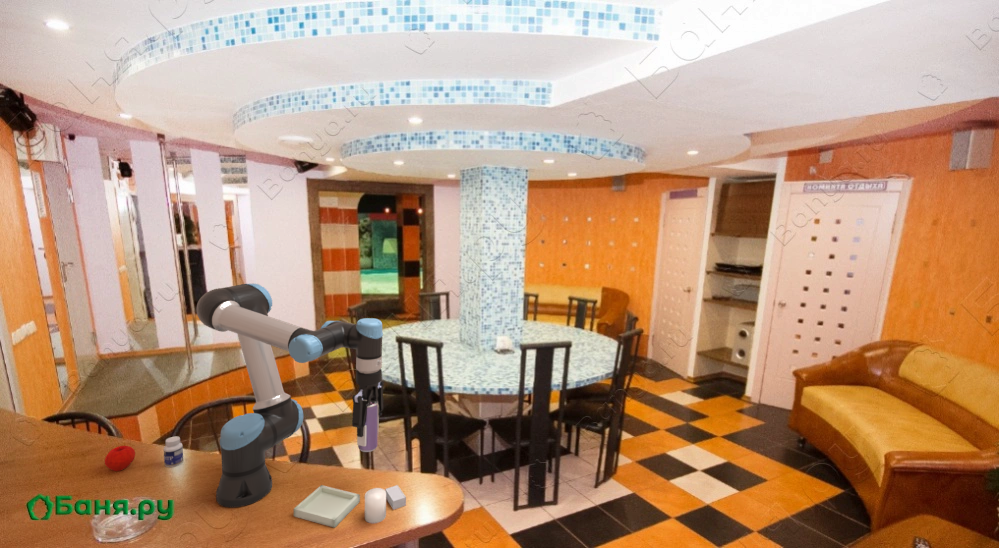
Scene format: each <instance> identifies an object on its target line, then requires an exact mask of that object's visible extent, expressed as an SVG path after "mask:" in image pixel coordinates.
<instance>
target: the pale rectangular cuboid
mask: <svg viewBox="0 0 999 548" xmlns="http://www.w3.org/2000/svg"><path fill="white" fill-rule="evenodd" d="M384 490H385V491H386V502H388V504H389V505H390V506H391V508H392V510H393V511H394V510H397V509H399V508H402V507H405V506H407V497H406V495H405V494H404V492H403V490H402V489H401V488H400V487H399V484H396V485H394V486H390V487H388V488H385V489H384Z"/></svg>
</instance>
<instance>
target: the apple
mask: <svg viewBox="0 0 999 548" xmlns="http://www.w3.org/2000/svg"><path fill="white" fill-rule="evenodd" d="M135 457H136V451H135V449H134V448H133V447H132V446H129V445H119V446H116V447H114V448H112V449H110V450H109V452H108V453H107V454H106V456H105V458H104V465H105V467H106V468H108V469H109V470H111V471H114V472H120V471H122V470H125V469H127V468H128V467H129V466H130V465H131V464H132V462H133V461H134V460H135Z"/></svg>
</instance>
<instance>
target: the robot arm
mask: <svg viewBox="0 0 999 548" xmlns="http://www.w3.org/2000/svg"><path fill="white" fill-rule="evenodd" d="M272 307H273V299H272V296H271V293H270V292H269V291H268V290H267V288H265V287H264V286H262V285H261V284H259V283H252V282H251V283H242V284H237V285H236V284H235V285H231V286H226V287H218V288H214V289H211V290H209V291H207V292H205V293H204V294H203V295H202V296H201V297H200V298H199V300H198V301H197V304H196V314H197V315H196V316H197V317H198V320H199V321H200V322H201V323H202V324H203V325H205V326H206V327H208V328H210V329H212V330H215V331H218V332H221V333H222V332H228V331H229V332H231V333H235V334H236V335H237V338H238V341H239V345H240V348H241V352H242V356H243V359H244V364H245V367H246V370H247V373H248V377H249V380H250V384H251V388H252V391H253V395H254V400H255V403H254V405H253V407H252V411H253V413H252V412H250V413H244V414H243V415H237V416H235V417H233V418H231V419H229V420H228V421H227V422H226V423H224V425H223V426H222V428H221V430H220V439H219V445H220V457H221V476H220V478H219V479H220V480H219V483H218V486H217V489H216V492H215V494H216V497H215V498H216V503H217V504H218V505H219V506H220V507H225V508H240V507H245V506H249V505H252V504H254V503H256V502H258V501H261V500H262V499H263V498H265V497H266V496H268V494H269V493H270V492H271V491H272V488H273V479H272V476H271V475H272V474H271V473H270V471H269V468H268V466H267V464H266V451H268V450H269V449H272V448H273V447H275V446H276V445H278V444H279V443H281V442H282V441H285V440H286V439H288V438H290V437H291V436H293V435H294V433H295V434H296V432H298V431H299V430H300V428H301V426H302V425H303V423H304V422H303V421H304V411H303V408H302V406H301V404H300V403H298V401H297V400H296V399H292V396H291V395H290V394H288V393H286V392H285V391H284V388H283V384H282V380H281V377H280V372H279V370H278V366H277V365H278V364H277V361H276V357H275V354H274V352H273V348H272V347H276V348H278V349H281V350H283V351H287V352H288V354H289V356H290V358H292V359H293V360H294V361H295V362H296V363H300V364H305V363H308V362H312V361H315V360H317V359H319V358H320V357H323V356H325V355H327V354H330V353H332V352H334V351H337V350H340V349H341V348H346V349H351V350H352V349H353V350H356V351H355V352H356V359H355V360H356V361H355V363H356V364H355V368H356V371H355V381H356V384H358V386H359V387H358V393H356V394H353V395H352V397H351V399H352V417H351V418H352V423H351V427H355V428H356V437H357V438H356V439H357V441H356V442H357V443H356V445H357V446H358V445H360V446H364V447H365V446H366V435H367V425H365V421H366V416H367V406H368V405H369V404H370V402H371V400H374V401H376V400H377V401H378V405H379V407H378V427H379V423H380V422H379V421H380V420H379V419H380V416H382V415H383V410H384V385H385V382H384V381H382V379H383V378H382V375H383V374H382V373H383V372H382V367H383V359H382V358H383V356H382V355H383V336H384V333H383V323H382V321H381V320H380V319H378V318H373V317H371V318H370V317H369V318H368V317H367V318H366V317H365V318H360V319H359V320H358V321H357V322H356V324H355V323H352V322H351V323H350V322H345V321H341V320H327V321H325V322H324V323H323V324H322V325H321V327H320V328H319V329H315V330H311V329H308V328H304V327H302V326H298V325H296V324H292V323H289V322H286V321H283V320H280V319H277V318H275V317H271V316H269V314H268V313H270V312H271V310H272ZM365 400H367V401H365Z"/></svg>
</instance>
